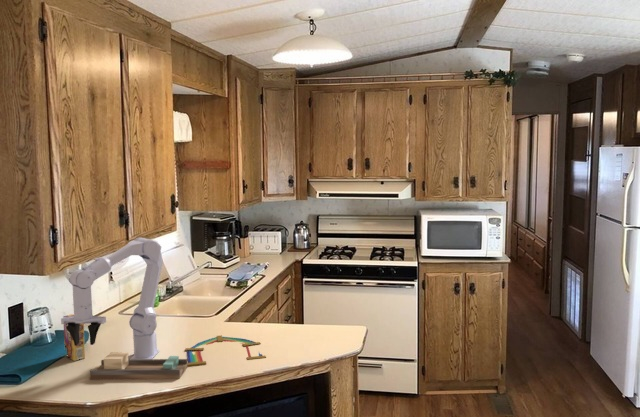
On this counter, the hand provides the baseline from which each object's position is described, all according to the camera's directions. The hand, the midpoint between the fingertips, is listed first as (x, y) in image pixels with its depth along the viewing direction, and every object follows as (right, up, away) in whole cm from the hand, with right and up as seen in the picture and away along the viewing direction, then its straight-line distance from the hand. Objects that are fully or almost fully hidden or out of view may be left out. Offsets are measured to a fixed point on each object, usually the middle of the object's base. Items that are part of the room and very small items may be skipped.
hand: (84, 344), depth 183 cm
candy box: (-11, -9, +17) cm, 22 cm away
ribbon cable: (+43, -8, +24) cm, 50 cm away
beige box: (+11, -8, +1) cm, 14 cm away
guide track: (+19, -10, +1) cm, 21 cm away
